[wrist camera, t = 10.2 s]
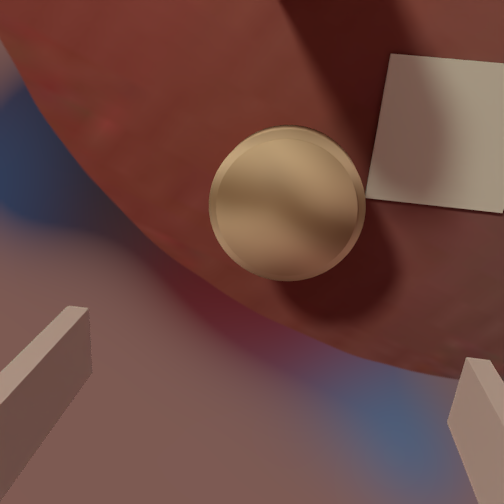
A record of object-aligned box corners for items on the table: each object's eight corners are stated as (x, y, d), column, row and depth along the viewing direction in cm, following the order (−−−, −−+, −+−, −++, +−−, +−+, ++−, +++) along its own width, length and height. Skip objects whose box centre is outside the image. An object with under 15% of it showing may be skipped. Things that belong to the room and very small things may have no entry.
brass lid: (349, 272, 40) (352, 290, 36) (213, 257, 41) (205, 273, 37) (372, 132, 35) (379, 138, 32) (219, 118, 36) (211, 123, 33)
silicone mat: (543, 67, 38) (545, 67, 37) (500, 211, 42) (502, 213, 42) (390, 53, 38) (391, 53, 38) (364, 196, 43) (365, 197, 42)
